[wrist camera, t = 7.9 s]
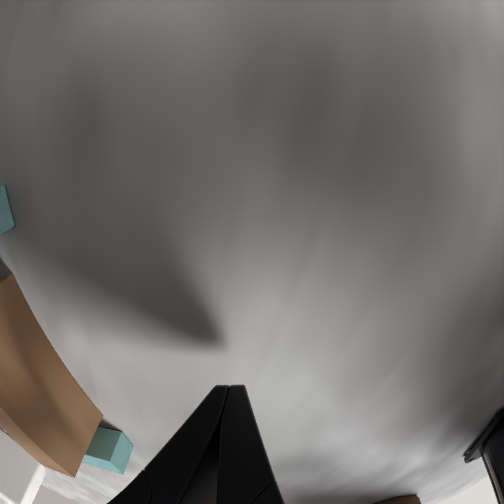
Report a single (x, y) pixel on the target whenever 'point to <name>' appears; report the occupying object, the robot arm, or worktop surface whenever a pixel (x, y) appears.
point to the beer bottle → (402, 500)
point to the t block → (40, 390)
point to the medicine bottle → (18, 473)
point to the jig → (104, 440)
